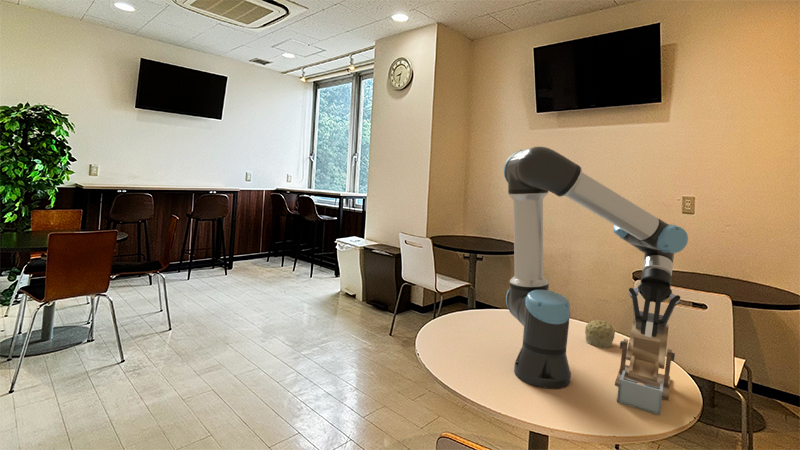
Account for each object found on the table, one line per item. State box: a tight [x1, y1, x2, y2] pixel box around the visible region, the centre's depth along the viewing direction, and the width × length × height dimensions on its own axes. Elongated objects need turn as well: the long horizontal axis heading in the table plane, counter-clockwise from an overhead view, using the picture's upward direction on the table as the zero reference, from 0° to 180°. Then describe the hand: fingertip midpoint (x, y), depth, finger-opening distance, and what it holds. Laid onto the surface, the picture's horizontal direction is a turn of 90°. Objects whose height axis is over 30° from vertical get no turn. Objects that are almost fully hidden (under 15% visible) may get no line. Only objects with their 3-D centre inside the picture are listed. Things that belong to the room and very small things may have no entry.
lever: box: [626, 310, 670, 383], centre depth 111 cm, size 22×9×9 cm
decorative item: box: [584, 319, 616, 349], centre depth 141 cm, size 10×10×10 cm
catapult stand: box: [614, 338, 676, 401], centre depth 112 cm, size 15×13×10 cm
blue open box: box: [616, 370, 663, 416], centre depth 102 cm, size 9×9×6 cm
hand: (646, 345), depth 108 cm, fingers closed
